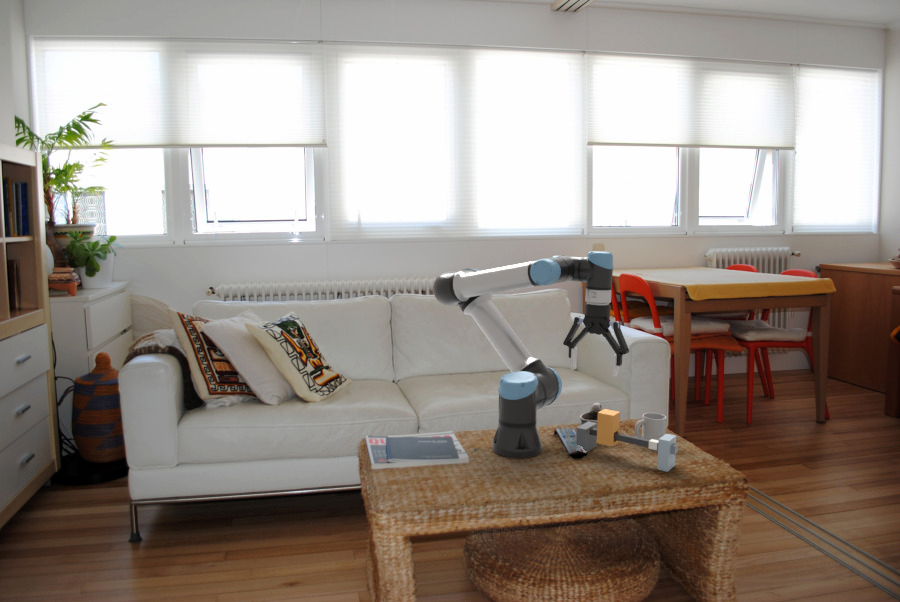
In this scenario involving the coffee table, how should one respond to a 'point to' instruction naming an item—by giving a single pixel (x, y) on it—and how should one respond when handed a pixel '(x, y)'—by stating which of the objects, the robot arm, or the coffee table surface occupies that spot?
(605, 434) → the orange sliding sleeve
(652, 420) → the cup
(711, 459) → the coffee table surface
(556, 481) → the coffee table surface
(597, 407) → the mug
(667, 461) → the rail rig
